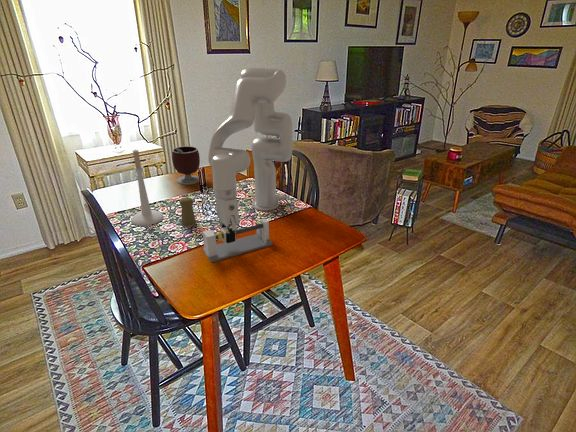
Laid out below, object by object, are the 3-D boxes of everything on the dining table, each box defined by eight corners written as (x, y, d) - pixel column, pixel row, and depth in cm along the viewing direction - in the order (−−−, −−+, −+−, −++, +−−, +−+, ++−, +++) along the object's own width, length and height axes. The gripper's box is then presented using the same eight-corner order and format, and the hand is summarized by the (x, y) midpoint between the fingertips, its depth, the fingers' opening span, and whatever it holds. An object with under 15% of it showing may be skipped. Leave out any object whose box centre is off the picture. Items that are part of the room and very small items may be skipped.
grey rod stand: (261, 234, 139) (261, 214, 135) (272, 244, 132) (272, 223, 128) (202, 250, 128) (200, 228, 124) (211, 262, 121) (209, 240, 117)
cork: (192, 226, 143) (189, 202, 139) (178, 225, 144) (175, 200, 140) (198, 220, 149) (196, 196, 144) (185, 218, 150) (182, 195, 145)
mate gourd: (183, 174, 198) (179, 139, 189) (206, 177, 195) (203, 141, 186) (168, 184, 185) (163, 147, 176) (192, 187, 182) (188, 149, 173)
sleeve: (231, 235, 129) (230, 225, 127) (235, 240, 126) (235, 230, 124) (221, 238, 127) (220, 228, 125) (225, 243, 124) (224, 233, 122)
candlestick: (129, 215, 151) (115, 147, 138) (160, 210, 157) (149, 143, 144) (133, 228, 141) (119, 155, 128) (166, 221, 147) (155, 151, 134)
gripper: (246, 198, 113) (247, 247, 122) (226, 181, 126) (229, 226, 134) (224, 203, 110) (227, 252, 118) (205, 185, 123) (210, 231, 131)
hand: (228, 238), depth 126 cm, fingers closed on sleeve, 4 cm apart
